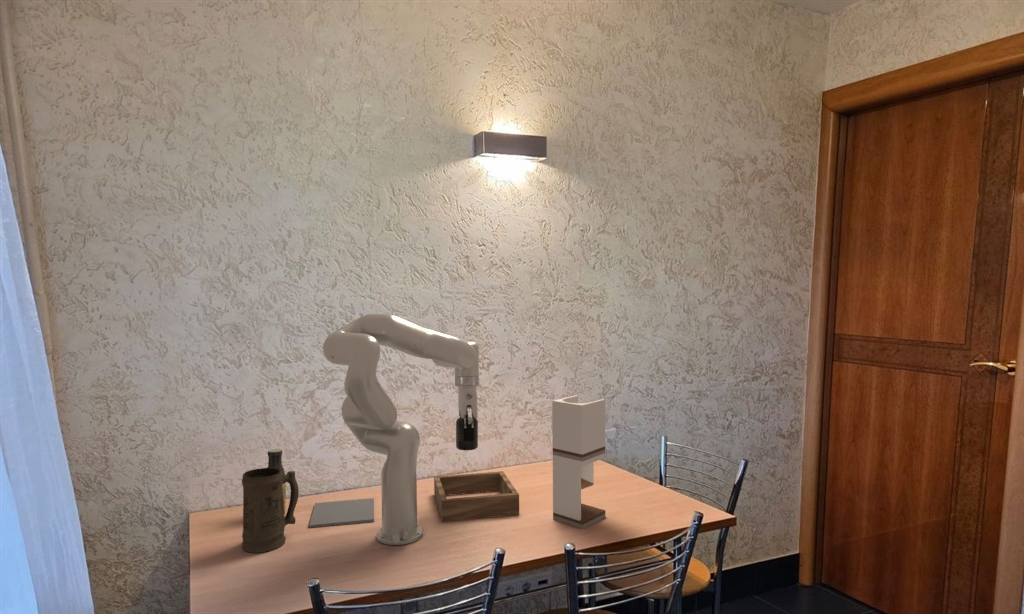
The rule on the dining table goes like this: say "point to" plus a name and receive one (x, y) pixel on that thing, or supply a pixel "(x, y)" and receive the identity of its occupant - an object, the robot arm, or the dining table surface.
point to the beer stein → (266, 508)
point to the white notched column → (576, 457)
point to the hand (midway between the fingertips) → (466, 437)
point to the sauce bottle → (276, 462)
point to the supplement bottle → (459, 435)
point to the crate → (478, 504)
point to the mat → (342, 512)
